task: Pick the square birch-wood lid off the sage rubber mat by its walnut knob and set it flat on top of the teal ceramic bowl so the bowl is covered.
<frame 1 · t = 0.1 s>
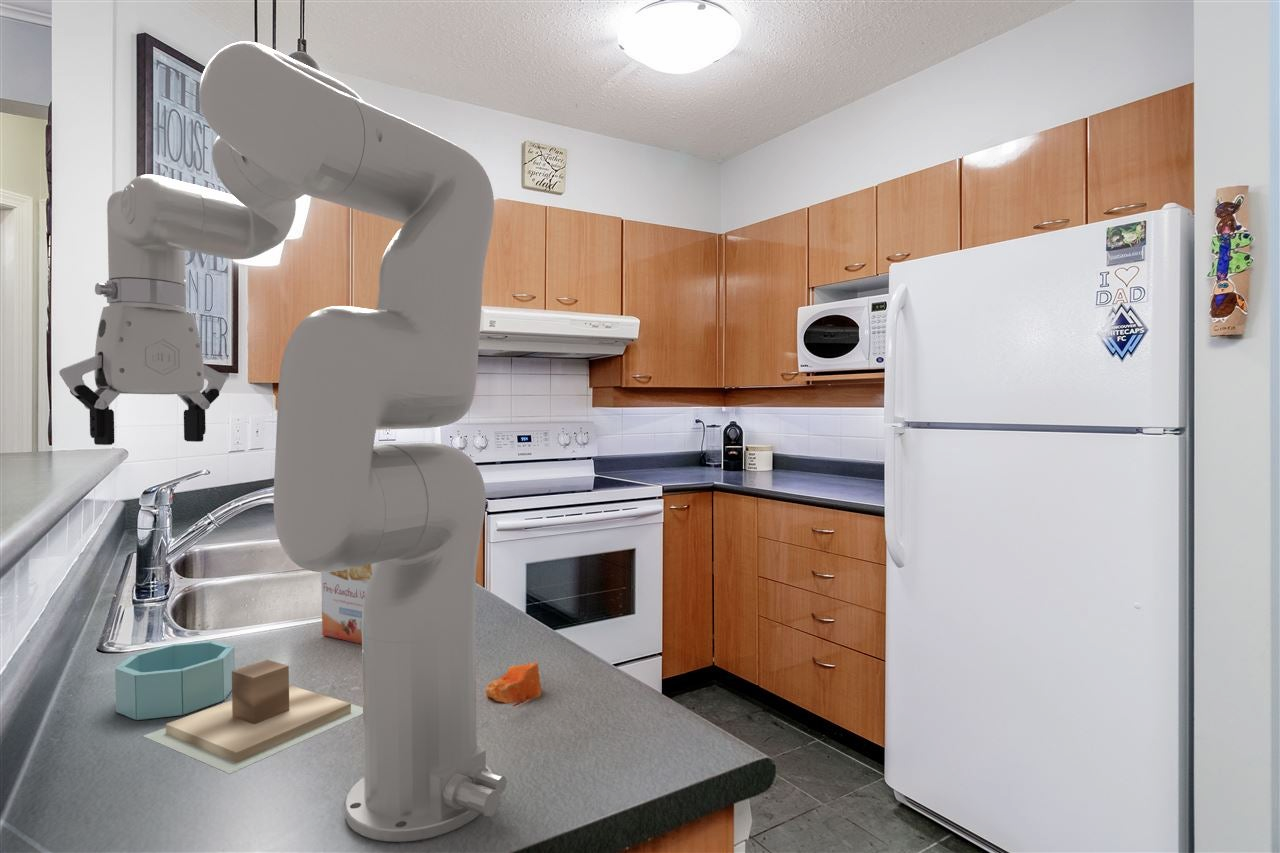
hand: (151, 442, 83), 31 cm above the countertop, fingers open, 9 cm apart
cracker box: (366, 639, 106), on the countertop
rock: (514, 702, 84), on the countertop
bowl: (178, 702, 83), on the countertop
lid: (261, 722, 76), resting on mat
mat: (261, 726, 76), on the countertop
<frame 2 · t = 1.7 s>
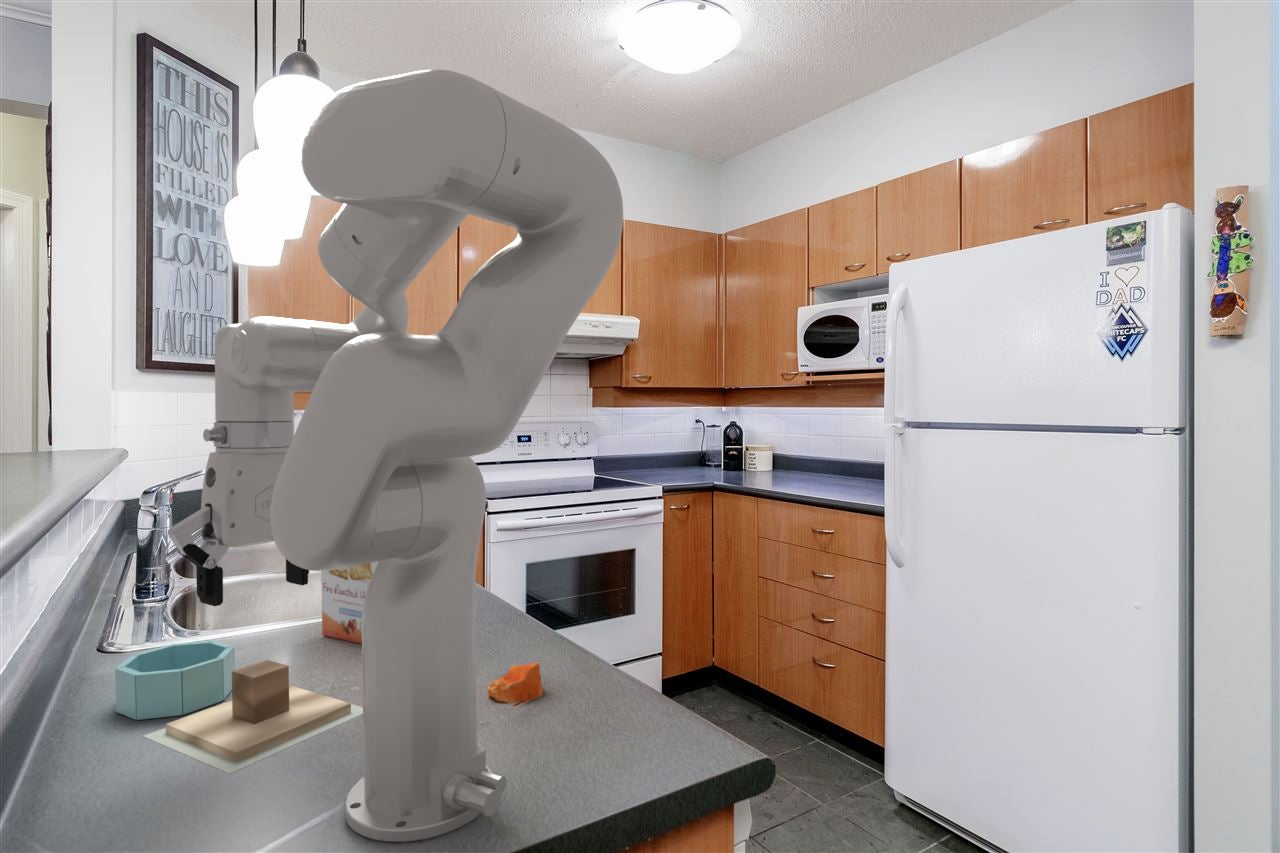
hand: (256, 593, 76), 15 cm above the countertop, fingers open, 9 cm apart
nothing on the countertop moved.
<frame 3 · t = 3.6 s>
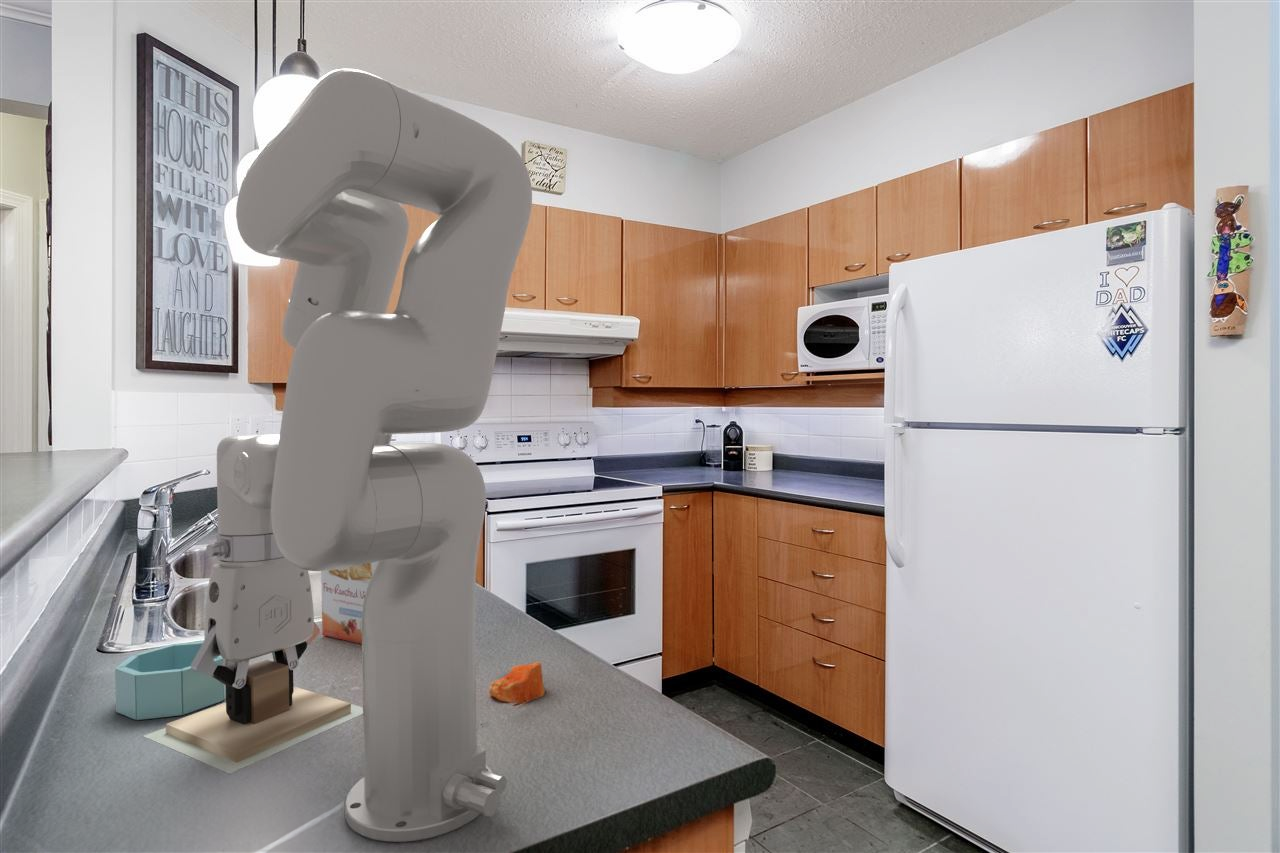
hand: (261, 710, 76), 2 cm above the countertop, fingers closed on lid, 4 cm apart
lid: (261, 722, 76), resting on mat, touching gripper
everything else where it was.
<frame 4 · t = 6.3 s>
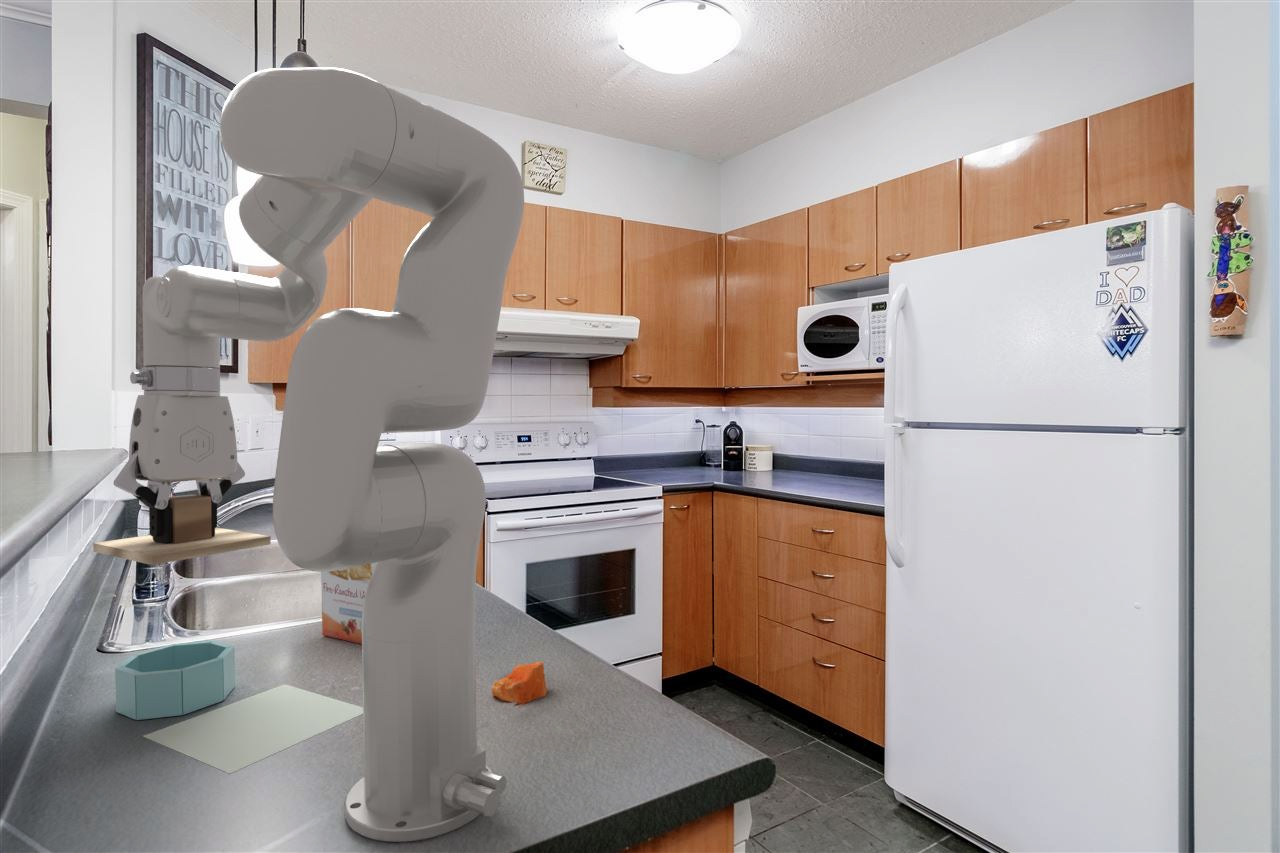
hand: (184, 537, 82), 20 cm above the countertop, fingers closed on lid, 4 cm apart
lid: (184, 547, 82), point 19 cm above the countertop, touching gripper
everything else where it was.
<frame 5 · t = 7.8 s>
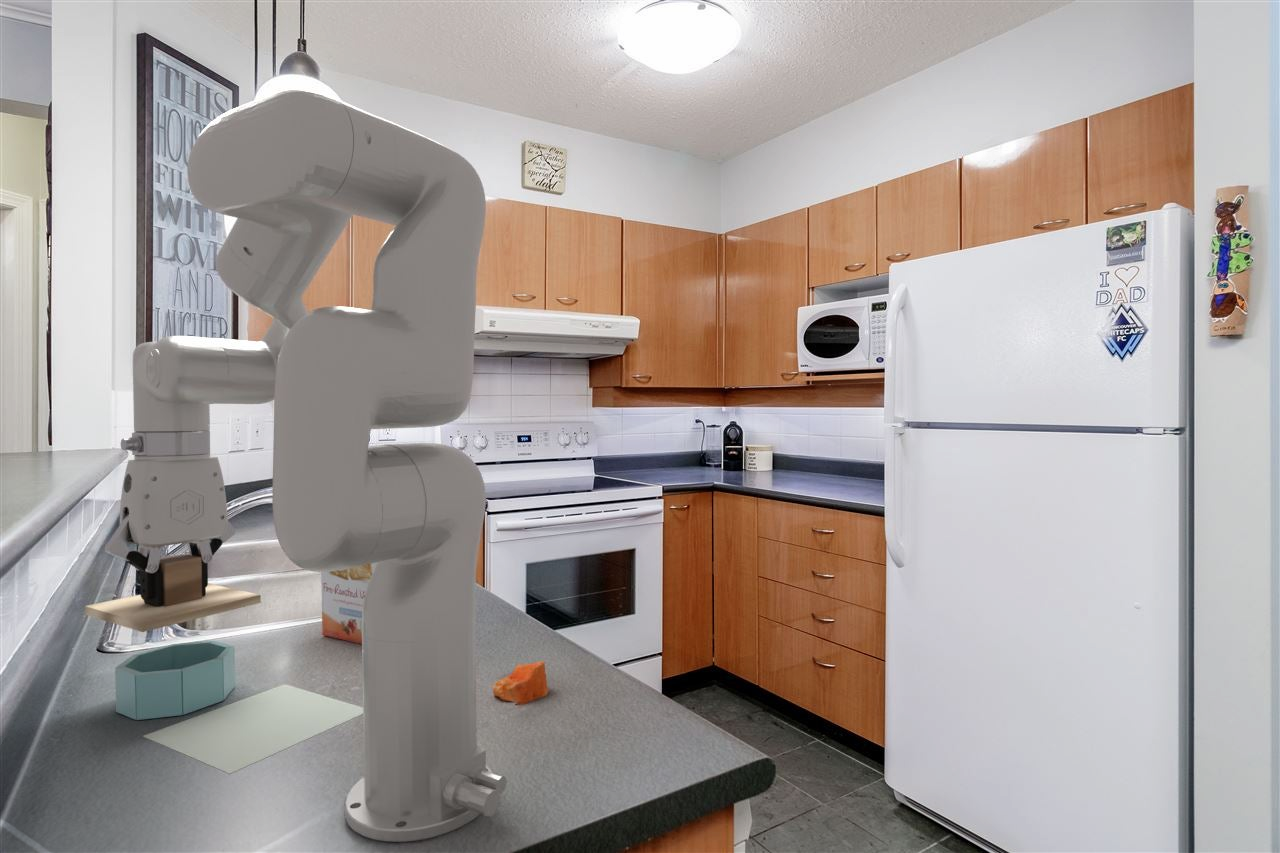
hand: (175, 598, 83), 13 cm above the countertop, fingers closed on lid, 4 cm apart
lid: (175, 608, 83), point 11 cm above the countertop, touching gripper
everything else where it was.
when the fingers open (8 cm above the countertop, at t = 9.3 s): lid drops 1 cm, resting on bowl.
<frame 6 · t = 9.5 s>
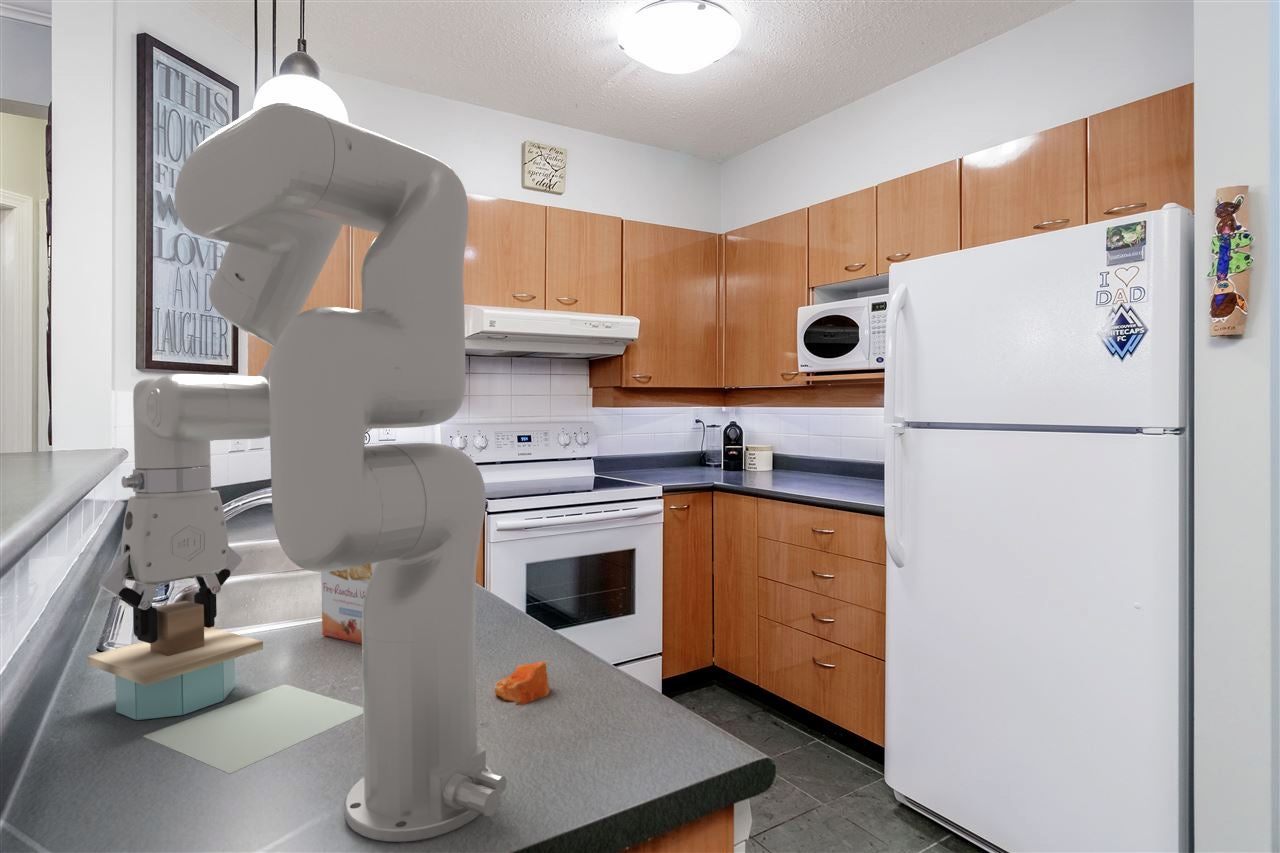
hand: (176, 631, 83), 9 cm above the countertop, fingers open, 5 cm apart
lid: (177, 656, 83), point 5 cm above the countertop, touching bowl
everything else where it was.
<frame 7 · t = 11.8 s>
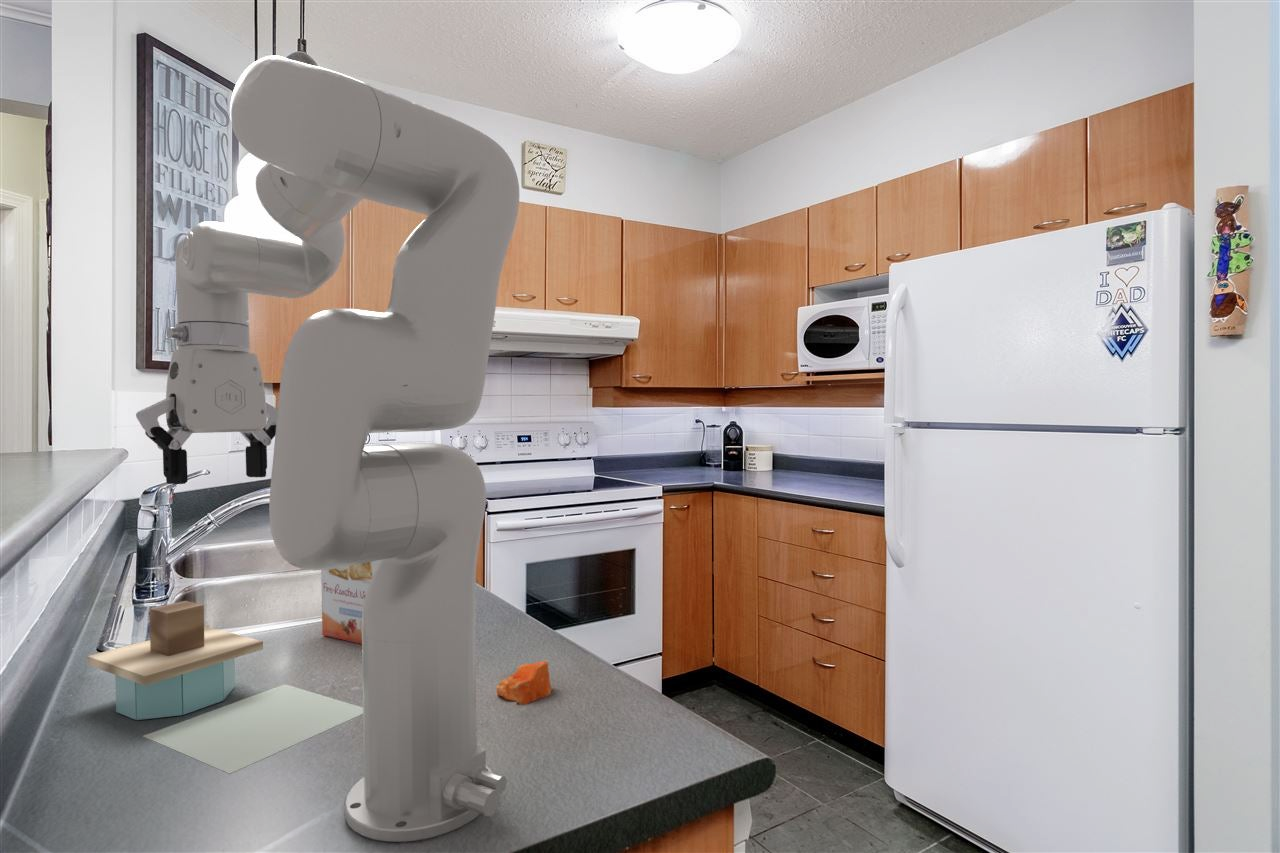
hand: (218, 480, 85), 26 cm above the countertop, fingers open, 9 cm apart
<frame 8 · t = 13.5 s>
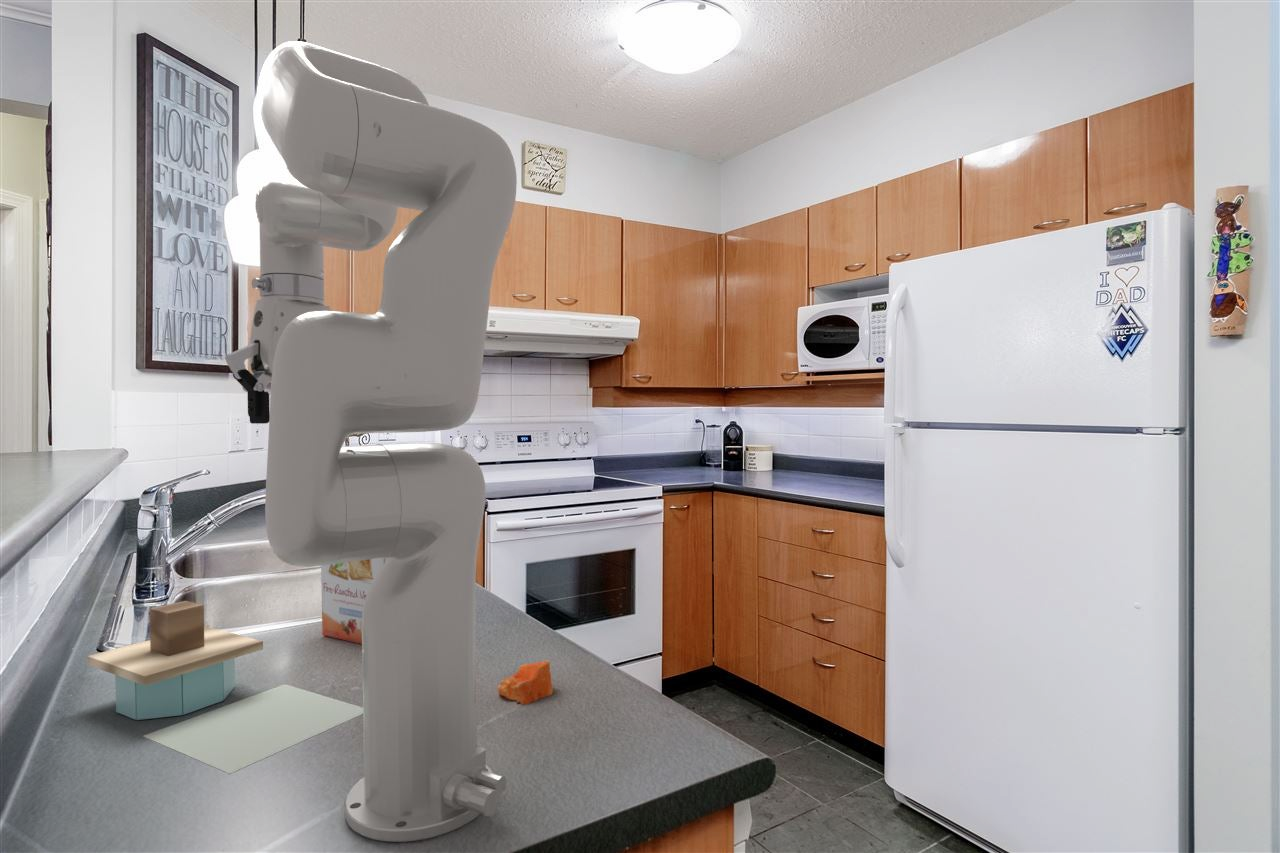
hand: (295, 422, 91), 33 cm above the countertop, fingers open, 9 cm apart
at the end: lid 0.1 cm off-centre on the bowl, point 5.5 cm above the bowl's base; lid tilted 0°; the gripper is holding nothing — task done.
